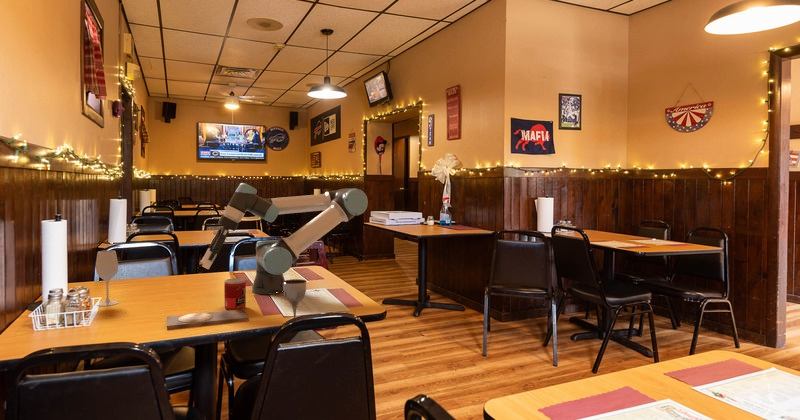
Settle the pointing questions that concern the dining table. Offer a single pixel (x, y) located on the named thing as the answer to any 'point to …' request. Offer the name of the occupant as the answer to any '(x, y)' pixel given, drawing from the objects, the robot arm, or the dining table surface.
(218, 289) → the dining table surface
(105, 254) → the wineglass
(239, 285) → the canned food
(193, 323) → the serving board
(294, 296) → the wine glass
